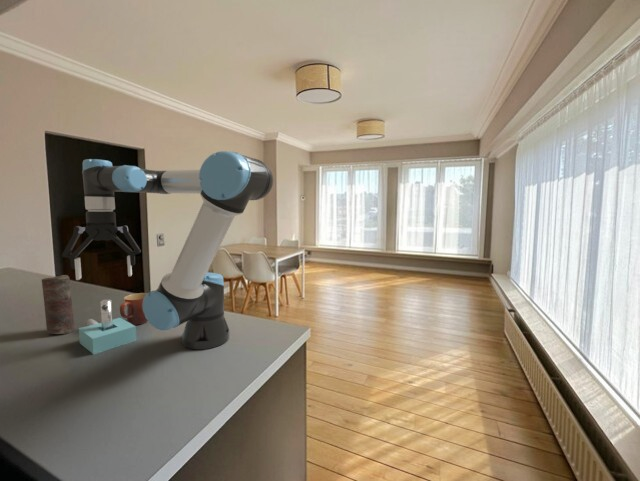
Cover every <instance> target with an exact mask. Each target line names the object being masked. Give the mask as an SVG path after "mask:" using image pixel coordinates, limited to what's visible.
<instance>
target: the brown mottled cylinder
mask: <svg viewBox="0 0 640 481" xmlns="http://www.w3.org/2000/svg"><path fill="white" fill-rule="evenodd" d="M70 280H71V279H70V276H69V275H67V274H63V275H59V276H53V277H45V278H42V279H41V285H42V286H41V287H42V296H43V302H44V303H43V305H44V314H45V324H46V325H45V326H46V332H47V333H49V334H53V335H54V334H55V335H67V334H70V333H71V332H73V331H74V330H75V329H76V326H75V324H76V323H75V316H74V308H73V300H72V290H71V281H70Z"/></svg>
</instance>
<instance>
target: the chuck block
mask: <svg viewBox="0 0 640 481" xmlns="http://www.w3.org/2000/svg"><path fill="white" fill-rule="evenodd" d="M85 325H86V326H82V327H78V337H79V339H78V340H79V344H80V345H81V346H83V347H84V348H85V349H87V351H89V352H90V353H91V354H92V355H96V354H97V355H98V354H100V353H102V352H106V351H109V350H112V349H115V348H118V347H122V346H125V345H127V344H130V343H133V342H137V327H136V326H137V325H133V324H131V323H129V322H128V321H127V320H125V318H123V317H117V318H113V328H112V329H109V330H105V331H102V324H101V322H98V321H97V320H95V319H93V318H89V319H87V320H86V321H85Z"/></svg>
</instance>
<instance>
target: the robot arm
mask: <svg viewBox="0 0 640 481" xmlns="http://www.w3.org/2000/svg"><path fill="white" fill-rule="evenodd" d="M81 174H82V180H83V181H82V182H83V191H84V192H83V193H84V207H85V210H87V211H86V212H85V221H86V223H85V224H86V225H85V226H83V227H82V226H80V225H77V226H74V227H73V229H72V230H73V233H72V235H71V238H70V239H69V241H68V243H67V245H66V246H65V248H64V250H63V252H62V254H61V256H62V258H66V259H69V260H70V268H71V270H75V272H74V273H75V280H76V281H80V280H81V279H82V266H81V265H82V263H81V257H78V256H79V255H80V254H81V253H82V252H83V251H84V250H85V249H86V248H87V247H88V246H89V244H90V243H91V242H93V241H96V242H98V241H110V240H112V242H114V243H116V245H117V246H119V247H120V248H121V249H122V250H123V251H124V252H126V254H127V256H126V264H127V275H128V277H132V275H133V269H132V268H133V266H135V265H136V256H137V255H139V254H140V253H141V252H142V250H141V248H140V247H139V245H138V244H137V242H136V241H135V239H134V237H133V236H132V235H131V232H130V231H129V227H128V225H123V226H117V220H116V219H117V218H116V216H117V215H116V212H115V211H114V210H116V202H115V192H119V193H120V192H123V193H141V194H142V193H146V194H147V193H148V194H161V195H169V194H199V195H200V197H201V199H202V201H203V202H202V204H201V206H200V209H199V211H198V213H197V215H196V217H195V220H194V222H193V225H192V226H191V228H190V231H189V233H188V236H187V237H186V240H185V242H184V244H183V247H182V248H181V251H180V253H179V255H178V257H177V259H176V262H175V264H174V266H173V267H172V269H171V270H172V271H171V272H169V273H166V274H165V275H163V277H162V278H161V281H160V282H159V285H158V286H157V288H156V290H150V291H149V292H147V293H148V294H146V295H145V297H144V299H143V303H142V307H143V312H144V314H145V317H146V319H147V320H148V321H147V322H148V323H149V324H150V325H151V326H152V327H153V328H154V329H156V330H159V331H169V330H171V329H175V328H178V327H179V326H180V325H182V324H185V323H186V324H185V326H184V329H183V333H182V335H181V341H182V342H181V343H182V345H183V347H185V348H188V349H191V350H206V349H208V350H209V349H214V348H216V347H219V346H221V345H224V344H225V343H226V342H228V341H229V339H230V329H229V324H228V323H227V320H226V317H225V284H224V283H225V282H224V281H225V280H224V276H223V275H222V274H220V273H217V272H209V270H210V267H211V265H212V263H213V261H214V259H215V257H216V256H217V253H218V250H219V249H220V247H221V245H222V243H223V241H224V239H225V236H226V234H227V233H228V231H229V228H230V227H231V225H232V223H233V220H234V219H235V217H236V216H239V215H242V214H244V211H245V209H246V207H247V206H248V203H249V201H258V200H261V199H264V198H265V197H266V196H268V195H269V193H270V192H271V191H272V190H273V185H274V175H273V172H272V170H271V168H270V166H268V165H267V164H266V163H265V162H264V161H262V160H260V159H257V158H253V157H250V156H247V155H243V154H241V153H238V152H234V151H226V150H221V151H217V152H214V153H212V154H210V155H209V156H207V158H206V159H205V160H204V161H203V162H202V164H201V166H200V169H178V170H176V169H175V170H152V169H145V168H140V167H138V166H136V165H129V164H128V165H127V164H123V165H113V162H111V161H110V160H105V159H97V158H95V159H94V158H89V159H84V160H83V161H82V171H81ZM118 231H119V232H120V233H122V234H123V235H124V237H125V239H126V240H127V242H128V243H129V244H130V247H129V245H127V244H126V243H125V242H124V241H123V240H122V239H120V237H119V236H117V233H118ZM84 232H85V233H87V235H88V236H87V237H86V238H85V240H84V241H83V242H82V243H81V244H79V246H78V247H77V248H76V249H75V250H74V251H73V249H74V247H75V246H76V244H77V242H78V239H79V238H80V236H81V234H83V233H84ZM132 249H133V250H132ZM72 251H73V252H72Z"/></svg>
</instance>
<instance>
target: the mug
mask: <svg viewBox="0 0 640 481" xmlns="http://www.w3.org/2000/svg"><path fill="white" fill-rule="evenodd" d="M148 293H149V292H139V293H138V292H137V293H131V294H128V295H126V296H124V297H123V300H124V302H123V303H121V304H120V305H119V314H120V316H121V318H122V319H126V321H127V322H129V323H131V324H133V325H134V326H140V325H143V324H146V323H147V322H148V320H147V319H146V317H145V314H144V312H143V307H142V303H143V299H144V297H145V295H146V294H148ZM125 307H126V313H125Z"/></svg>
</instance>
